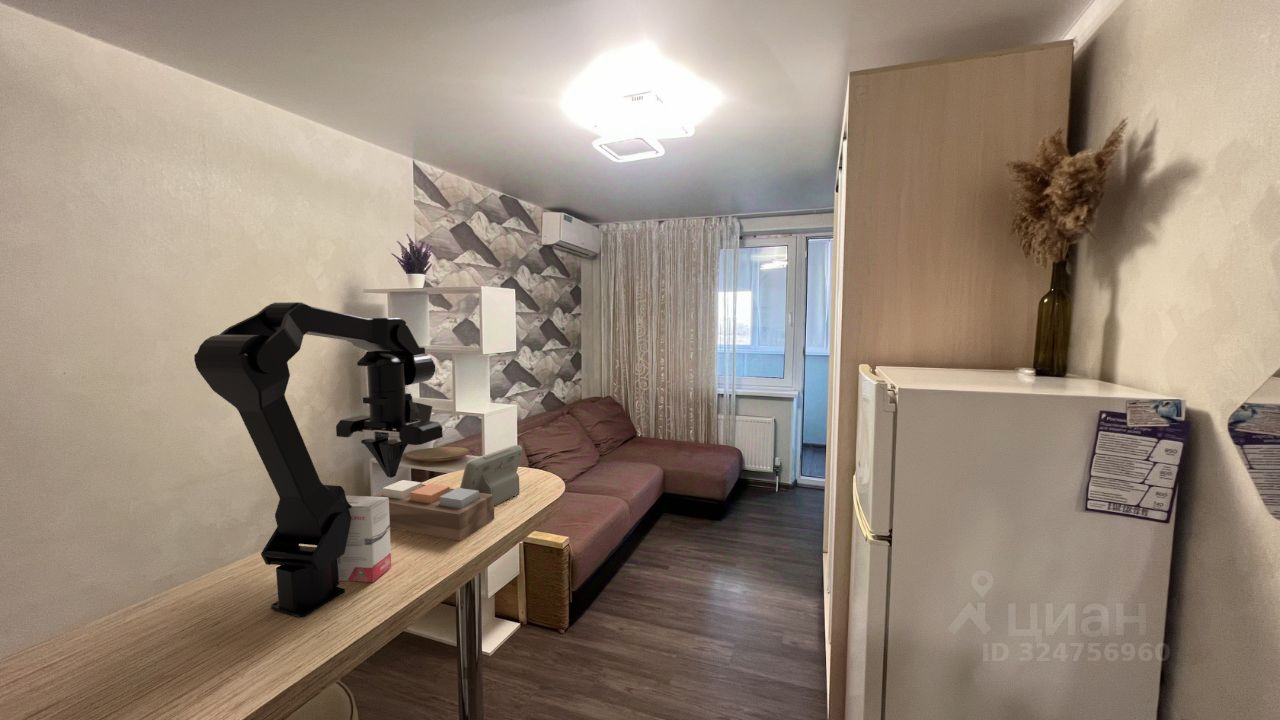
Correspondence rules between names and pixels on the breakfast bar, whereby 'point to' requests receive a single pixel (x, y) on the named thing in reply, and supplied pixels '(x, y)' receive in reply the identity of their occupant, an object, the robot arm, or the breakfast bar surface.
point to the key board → (440, 516)
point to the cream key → (401, 489)
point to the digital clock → (494, 473)
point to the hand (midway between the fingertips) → (391, 476)
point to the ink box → (366, 540)
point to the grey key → (459, 498)
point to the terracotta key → (429, 493)
